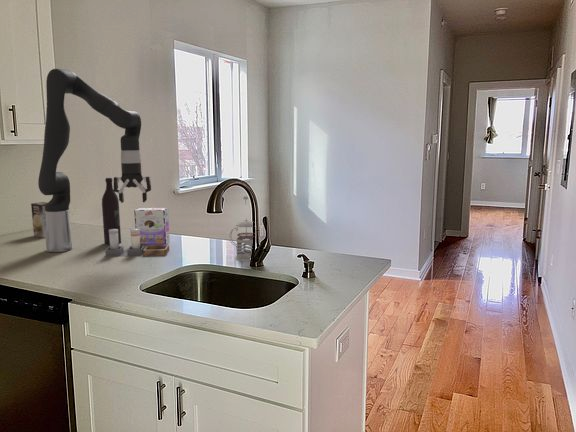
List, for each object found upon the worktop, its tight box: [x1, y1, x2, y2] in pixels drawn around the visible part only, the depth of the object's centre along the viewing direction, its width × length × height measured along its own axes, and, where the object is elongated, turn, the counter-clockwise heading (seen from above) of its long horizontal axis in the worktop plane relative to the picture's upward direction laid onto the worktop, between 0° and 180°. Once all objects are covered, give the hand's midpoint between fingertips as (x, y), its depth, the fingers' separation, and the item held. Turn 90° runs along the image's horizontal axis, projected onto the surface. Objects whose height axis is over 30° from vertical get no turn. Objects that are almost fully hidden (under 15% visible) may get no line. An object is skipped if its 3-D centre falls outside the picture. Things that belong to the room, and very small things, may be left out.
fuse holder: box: [104, 245, 146, 258], centre depth 202 cm, size 14×9×3 cm, turn 96°
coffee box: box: [30, 201, 47, 239], centre depth 241 cm, size 9×6×16 cm
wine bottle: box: [101, 177, 122, 246], centre depth 220 cm, size 7×7×30 cm
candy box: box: [133, 207, 171, 245], centre depth 221 cm, size 14×6×16 cm, turn 84°
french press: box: [229, 195, 254, 262], centre depth 196 cm, size 10×12×25 cm
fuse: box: [109, 229, 120, 250], centre depth 201 cm, size 4×4×10 cm
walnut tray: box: [142, 244, 170, 257], centre depth 204 cm, size 9×9×3 cm
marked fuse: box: [129, 228, 141, 249], centre depth 202 cm, size 4×4×10 cm
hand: (133, 202), depth 200 cm, fingers open, 8 cm apart
